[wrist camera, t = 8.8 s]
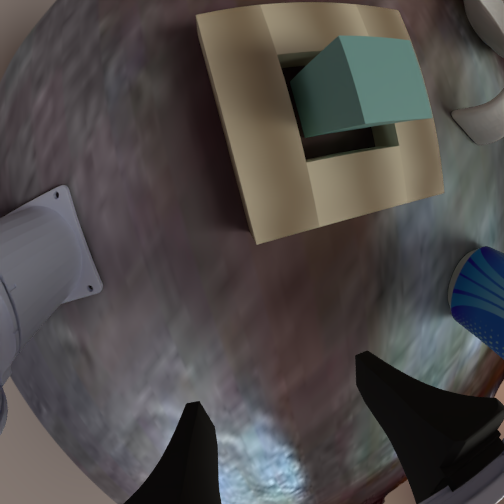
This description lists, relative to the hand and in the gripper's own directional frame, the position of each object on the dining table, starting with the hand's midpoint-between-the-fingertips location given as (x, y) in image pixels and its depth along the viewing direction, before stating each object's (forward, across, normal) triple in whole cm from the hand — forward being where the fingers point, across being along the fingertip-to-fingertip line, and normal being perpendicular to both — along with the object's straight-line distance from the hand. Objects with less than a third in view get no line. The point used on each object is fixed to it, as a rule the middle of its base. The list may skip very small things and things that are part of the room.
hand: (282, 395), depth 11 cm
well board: (+9, -8, -12) cm, 17 cm away
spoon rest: (+10, -30, -18) cm, 36 cm away
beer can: (+10, -22, +6) cm, 25 cm away
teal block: (+9, -8, -12) cm, 17 cm away
